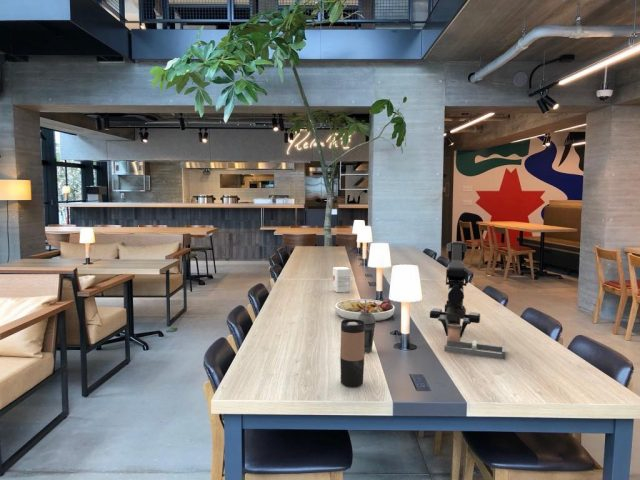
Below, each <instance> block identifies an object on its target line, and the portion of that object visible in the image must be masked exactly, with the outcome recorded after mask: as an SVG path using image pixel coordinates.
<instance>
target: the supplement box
mask: <svg viewBox="0 0 640 480" xmlns="http://www.w3.org/2000/svg"><path fill="white" fill-rule="evenodd" d="M333 290H334V291H333ZM332 291H333V292H335V291H336V292H335V293H337V292H343V293H351V268H349V267H346V266H338V267H337V266H334V267H332Z"/></svg>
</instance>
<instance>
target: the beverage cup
mask: <svg viewBox="0 0 640 480" xmlns="http://www.w3.org/2000/svg"><path fill="white" fill-rule="evenodd" d="M358 320H361V321H364V323H365V329H364V354H368V353H369V354H370V353H372V351H373V345H374V344H373V343H374V335H375V327H376V322H377V321H375V317H374V315H373V314H372V313H371V312H368V311H367V309H366V300H365V312H362V313H361V314H360V315H359V317H358Z"/></svg>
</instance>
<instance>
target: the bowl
mask: <svg viewBox="0 0 640 480" xmlns="http://www.w3.org/2000/svg"><path fill="white" fill-rule="evenodd" d="M365 300H366V309H367V311H368V312H371V313H372V314H373V315H374V317H375V321H376V322H380V321H384V320H387V319H390V318H391V317H392V316H393V315H394V313H395V308H396V307H395V306H394V304H392V302H391V300H390V299H388V298H385V299H383V301H382V300H379V299H378V300H376V299H369V298H366V299H365V298H364V299H363V298H362V299H361V298H360V299H359V298H357V299H356V298H355V299H346V300H345V299H344V300H342V301H338V302H336V304H335V305H334V308H335V312H336V313H337V314H338V316H340V318H341V317H342V318H343V319H345V320H347V319H357V320H358V317H359V315H360V314H361V313H362V312H365Z"/></svg>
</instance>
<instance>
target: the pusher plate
mask: <svg viewBox="0 0 640 480" xmlns="http://www.w3.org/2000/svg"><path fill="white" fill-rule="evenodd" d="M477 343H478V340H472V348H471V349H476V350H478V349H477Z"/></svg>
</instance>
